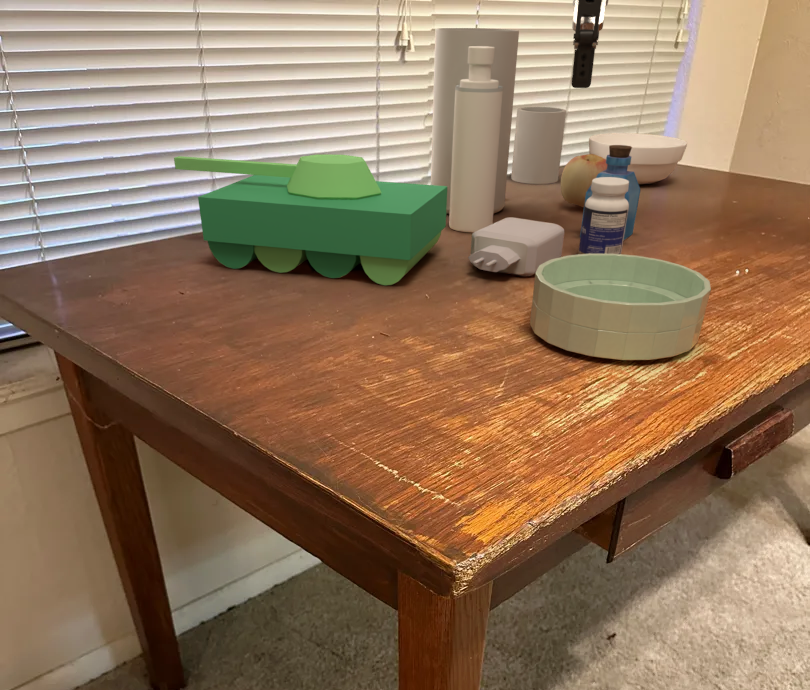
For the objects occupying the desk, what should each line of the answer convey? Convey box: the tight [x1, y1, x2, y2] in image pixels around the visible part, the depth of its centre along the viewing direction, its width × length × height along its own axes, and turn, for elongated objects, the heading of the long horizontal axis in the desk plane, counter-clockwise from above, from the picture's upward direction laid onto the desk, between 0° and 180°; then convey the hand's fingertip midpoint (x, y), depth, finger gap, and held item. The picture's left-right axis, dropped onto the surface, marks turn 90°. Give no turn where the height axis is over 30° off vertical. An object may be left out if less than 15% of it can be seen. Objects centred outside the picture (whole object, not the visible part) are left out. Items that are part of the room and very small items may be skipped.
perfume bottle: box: [579, 145, 641, 242], centre depth 110 cm, size 6×6×12 cm
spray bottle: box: [448, 46, 503, 234], centre depth 109 cm, size 7×7×25 cm
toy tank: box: [173, 153, 447, 286], centre depth 99 cm, size 18×12×35 cm
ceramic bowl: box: [529, 253, 712, 361], centre depth 78 cm, size 17×17×6 cm
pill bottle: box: [577, 177, 629, 255], centre depth 100 cm, size 6×6×10 cm
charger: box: [468, 216, 565, 277], centre depth 97 cm, size 5×9×15 cm
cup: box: [510, 106, 567, 185], centre depth 145 cm, size 9×9×12 cm
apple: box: [560, 153, 607, 208], centre depth 126 cm, size 9×9×8 cm
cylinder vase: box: [430, 27, 520, 215], centre depth 120 cm, size 12×12×25 cm
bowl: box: [588, 132, 688, 185], centre depth 146 cm, size 18×18×7 cm
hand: (581, 84), depth 91 cm, fingers open, 8 cm apart
